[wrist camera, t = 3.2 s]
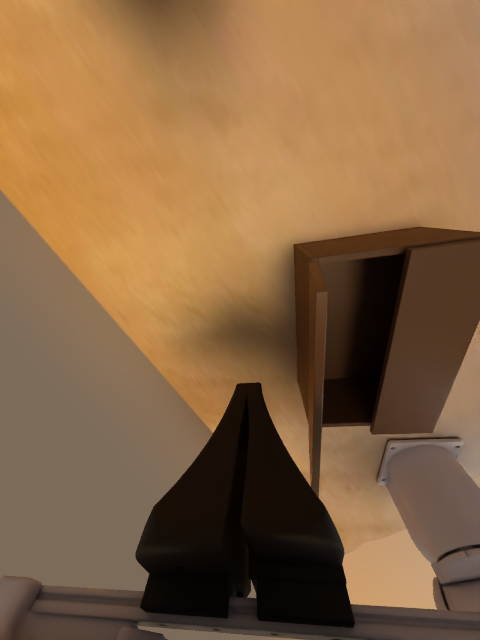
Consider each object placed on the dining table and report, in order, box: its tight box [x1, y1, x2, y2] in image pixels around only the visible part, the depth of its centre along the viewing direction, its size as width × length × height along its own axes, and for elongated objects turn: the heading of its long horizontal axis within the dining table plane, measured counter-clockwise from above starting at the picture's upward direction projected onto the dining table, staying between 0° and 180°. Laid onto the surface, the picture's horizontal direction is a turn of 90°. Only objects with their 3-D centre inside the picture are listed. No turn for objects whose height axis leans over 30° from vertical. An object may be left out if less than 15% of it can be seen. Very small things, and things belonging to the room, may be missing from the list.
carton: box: [294, 227, 480, 435], centre depth 16 cm, size 14×9×6 cm, turn 8°
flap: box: [309, 262, 328, 497], centre depth 12 cm, size 14×4×1 cm
